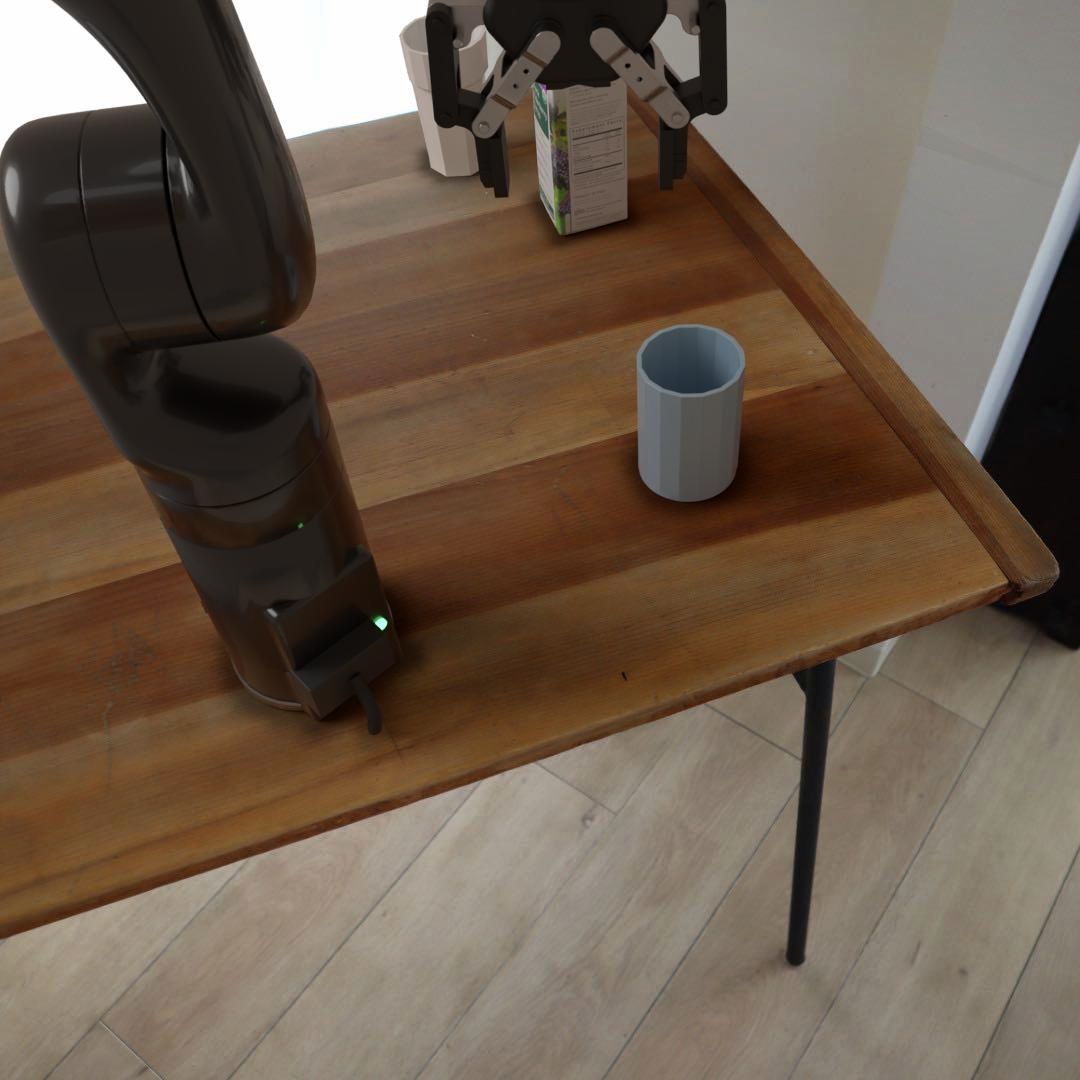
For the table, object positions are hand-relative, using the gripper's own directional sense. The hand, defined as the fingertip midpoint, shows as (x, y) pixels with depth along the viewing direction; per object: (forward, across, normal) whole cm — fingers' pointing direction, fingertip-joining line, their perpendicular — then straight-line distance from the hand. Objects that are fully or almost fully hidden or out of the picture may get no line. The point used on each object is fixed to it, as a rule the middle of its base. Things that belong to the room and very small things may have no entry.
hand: (584, 185), depth 62 cm
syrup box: (+20, -1, +25) cm, 32 cm away
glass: (+19, +6, -2) cm, 20 cm away
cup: (+20, -11, +33) cm, 40 cm away
